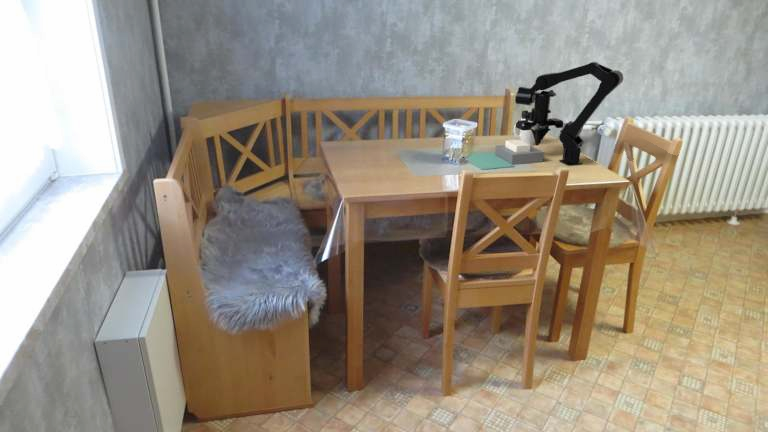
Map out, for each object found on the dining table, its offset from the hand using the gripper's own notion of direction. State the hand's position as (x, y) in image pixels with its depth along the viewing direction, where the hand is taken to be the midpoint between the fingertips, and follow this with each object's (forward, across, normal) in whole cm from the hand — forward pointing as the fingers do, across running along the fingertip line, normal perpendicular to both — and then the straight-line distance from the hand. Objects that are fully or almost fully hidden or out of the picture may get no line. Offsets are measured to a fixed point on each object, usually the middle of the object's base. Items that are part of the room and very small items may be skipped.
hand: (537, 145), depth 222 cm
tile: (0, +9, 0) cm, 9 cm away
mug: (+5, -5, -19) cm, 20 cm away
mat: (+5, +22, 0) cm, 23 cm away
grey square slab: (+5, +8, 0) cm, 9 cm away
